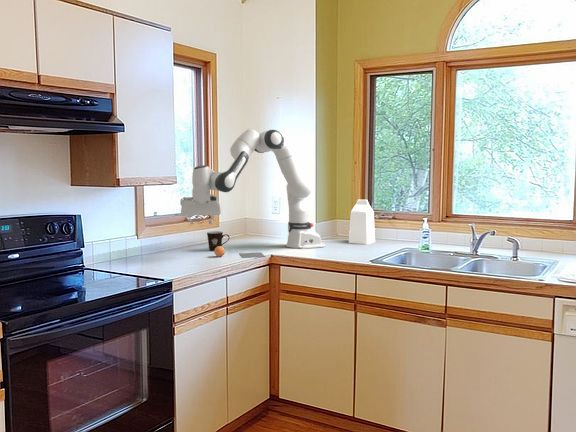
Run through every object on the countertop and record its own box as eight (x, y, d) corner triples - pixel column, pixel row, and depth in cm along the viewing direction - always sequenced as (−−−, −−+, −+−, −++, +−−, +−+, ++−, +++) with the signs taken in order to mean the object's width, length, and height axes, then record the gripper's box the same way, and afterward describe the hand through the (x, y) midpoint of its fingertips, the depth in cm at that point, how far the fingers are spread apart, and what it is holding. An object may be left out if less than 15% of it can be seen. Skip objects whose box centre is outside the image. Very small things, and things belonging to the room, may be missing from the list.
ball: (224, 255, 288) (224, 245, 288) (225, 257, 283) (225, 246, 282) (213, 255, 287) (213, 245, 286) (214, 257, 282) (214, 247, 281)
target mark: (261, 252, 296) (261, 252, 296) (265, 256, 284) (265, 256, 284) (239, 253, 293) (239, 253, 293) (242, 257, 282) (242, 257, 282)
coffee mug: (204, 250, 302) (204, 233, 301) (211, 248, 310) (211, 231, 309) (223, 252, 298) (223, 234, 297) (230, 249, 307) (230, 231, 305)
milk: (348, 242, 330) (349, 199, 327) (357, 240, 339) (358, 198, 337) (366, 244, 323) (367, 200, 320) (375, 242, 333) (375, 199, 330)
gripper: (180, 197, 275) (180, 225, 276) (221, 197, 280) (221, 224, 281) (180, 196, 281) (180, 223, 282) (219, 196, 286) (219, 223, 288)
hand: (200, 224), depth 282 cm, fingers open, 8 cm apart
